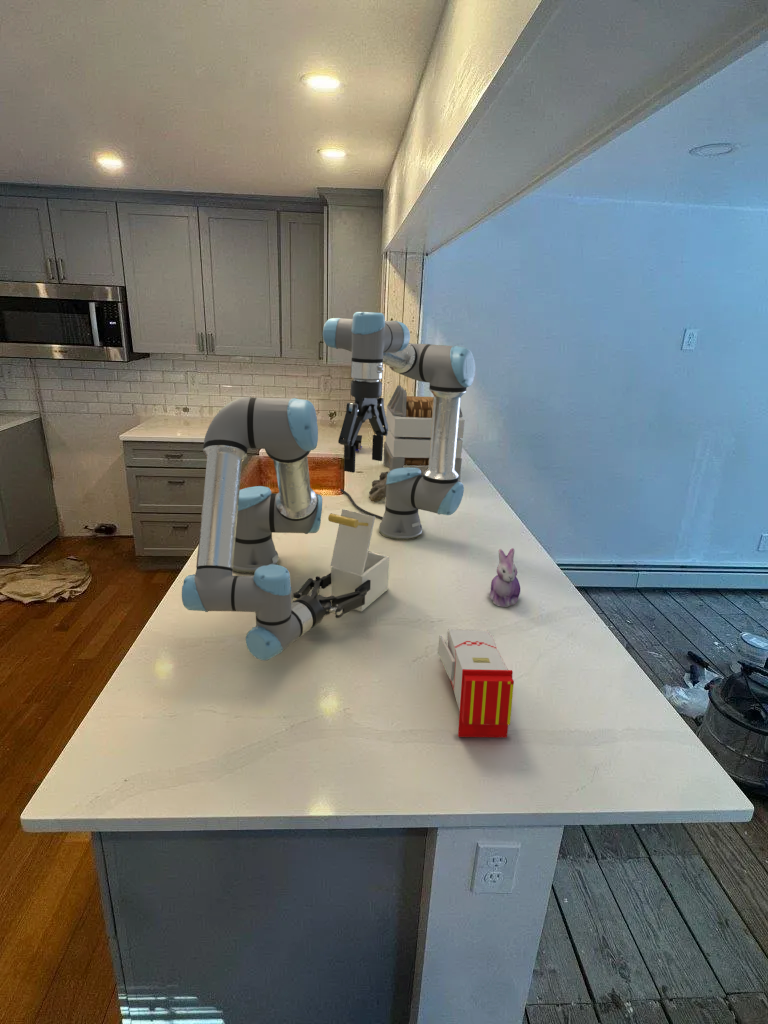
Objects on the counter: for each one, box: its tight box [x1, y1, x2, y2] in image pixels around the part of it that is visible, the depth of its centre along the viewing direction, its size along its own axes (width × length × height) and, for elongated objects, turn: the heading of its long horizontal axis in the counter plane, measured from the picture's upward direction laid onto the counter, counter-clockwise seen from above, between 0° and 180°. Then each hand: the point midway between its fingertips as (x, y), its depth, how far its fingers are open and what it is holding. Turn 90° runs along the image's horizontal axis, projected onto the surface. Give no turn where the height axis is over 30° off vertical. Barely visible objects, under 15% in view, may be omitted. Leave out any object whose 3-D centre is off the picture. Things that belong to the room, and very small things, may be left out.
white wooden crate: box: [383, 384, 465, 482], centre depth 268 cm, size 34×33×41 cm
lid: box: [327, 508, 376, 575], centre depth 143 cm, size 15×10×8 cm
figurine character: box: [354, 434, 363, 453], centre depth 311 cm, size 7×8×15 cm
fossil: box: [368, 471, 389, 503], centre depth 238 cm, size 22×10×15 cm
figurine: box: [489, 547, 521, 608], centre depth 154 cm, size 9×10×15 cm
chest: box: [330, 550, 390, 613], centre depth 154 cm, size 14×10×10 cm, turn 151°
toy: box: [437, 628, 515, 738], centre depth 117 cm, size 12×13×30 cm
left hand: (352, 579), depth 150 cm, fingers closed on chest, 10 cm apart
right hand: (363, 465), depth 143 cm, fingers open, 13 cm apart
